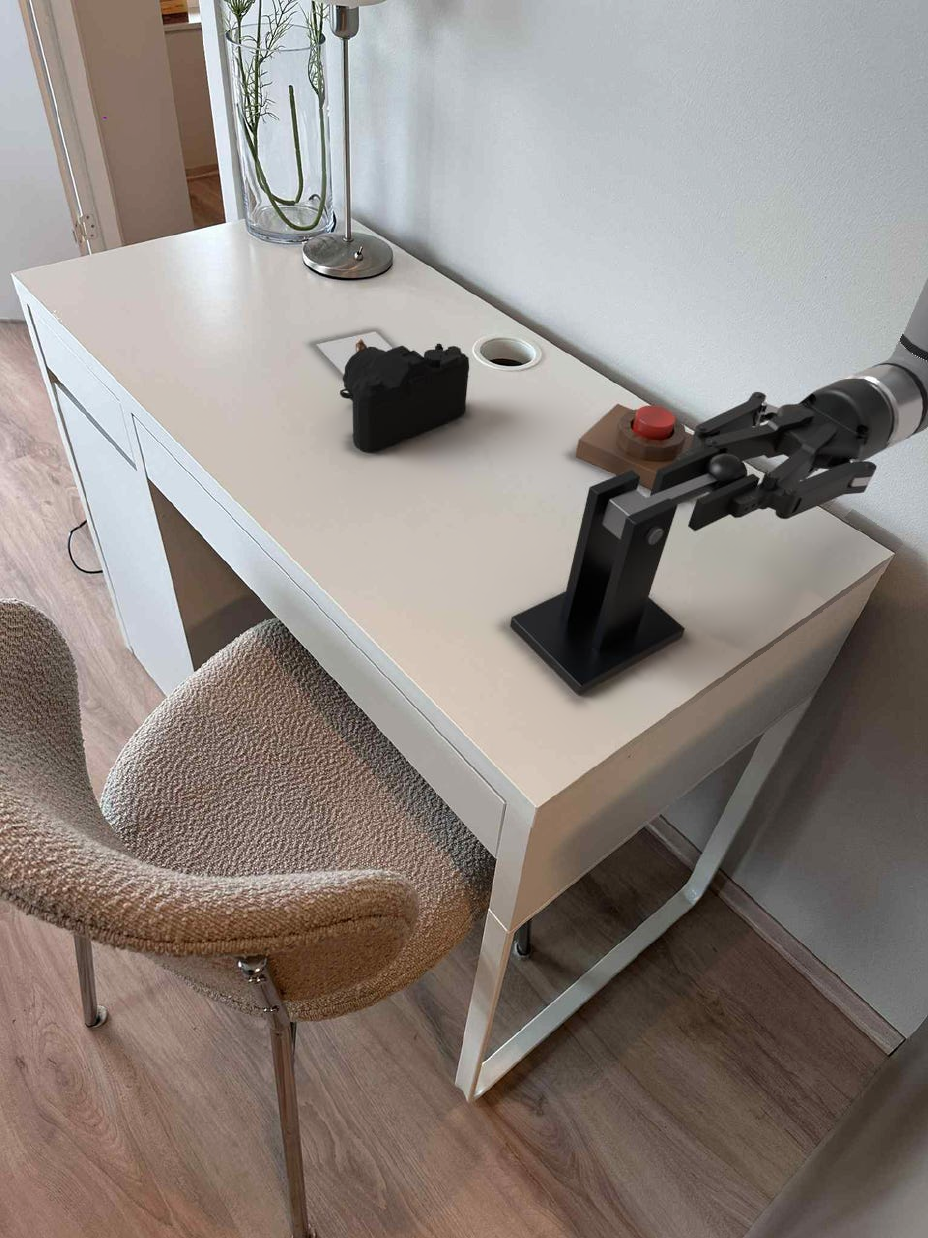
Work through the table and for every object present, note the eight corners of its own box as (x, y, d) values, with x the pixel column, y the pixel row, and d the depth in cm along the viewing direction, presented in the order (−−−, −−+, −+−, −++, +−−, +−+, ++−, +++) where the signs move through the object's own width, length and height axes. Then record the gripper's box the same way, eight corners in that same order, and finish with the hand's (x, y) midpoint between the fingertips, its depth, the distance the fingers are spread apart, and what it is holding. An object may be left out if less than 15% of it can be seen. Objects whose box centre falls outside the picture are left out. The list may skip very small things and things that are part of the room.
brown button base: (711, 461, 95) (722, 429, 92) (677, 501, 90) (688, 469, 87) (613, 420, 99) (620, 388, 97) (574, 456, 94) (581, 424, 91)
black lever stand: (611, 576, 81) (648, 441, 71) (682, 638, 76) (733, 503, 66) (509, 626, 76) (532, 488, 65) (578, 696, 71) (615, 559, 60)
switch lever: (715, 476, 75) (729, 440, 73) (747, 499, 73) (763, 463, 71) (593, 525, 68) (604, 487, 66) (625, 552, 66) (637, 514, 64)
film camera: (422, 376, 103) (426, 302, 96) (476, 416, 98) (483, 341, 91) (310, 416, 95) (306, 339, 89) (363, 461, 90) (362, 383, 84)
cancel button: (677, 429, 93) (681, 414, 91) (661, 446, 90) (665, 431, 89) (642, 414, 94) (646, 400, 93) (626, 431, 92) (629, 416, 90)
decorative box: (375, 331, 109) (375, 317, 108) (407, 362, 105) (407, 347, 103) (315, 344, 106) (315, 329, 104) (345, 377, 101) (345, 362, 100)
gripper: (915, 500, 79) (740, 597, 68) (771, 408, 88) (596, 482, 77) (956, 429, 73) (773, 522, 63) (798, 339, 82) (613, 407, 72)
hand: (676, 500), depth 70 cm, fingers closed on switch lever, 4 cm apart
